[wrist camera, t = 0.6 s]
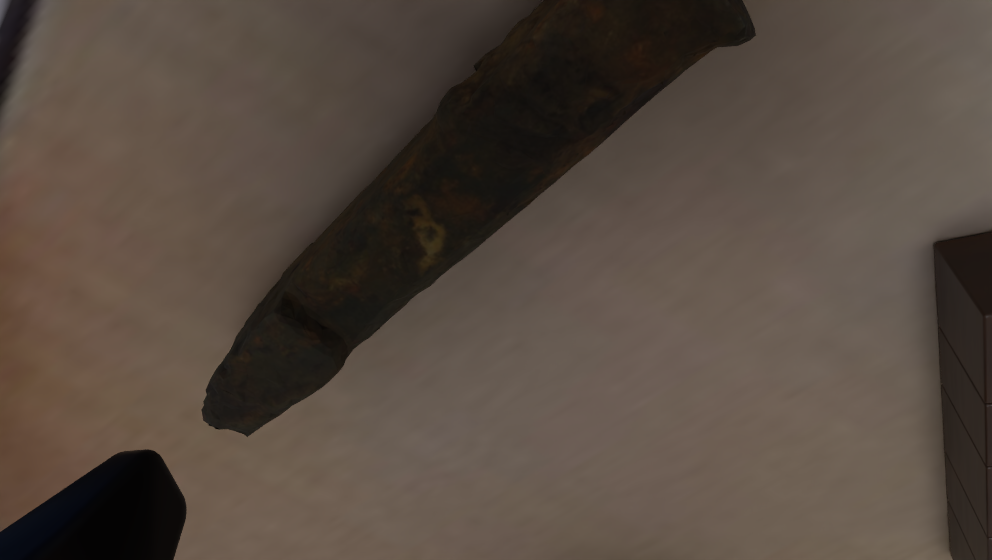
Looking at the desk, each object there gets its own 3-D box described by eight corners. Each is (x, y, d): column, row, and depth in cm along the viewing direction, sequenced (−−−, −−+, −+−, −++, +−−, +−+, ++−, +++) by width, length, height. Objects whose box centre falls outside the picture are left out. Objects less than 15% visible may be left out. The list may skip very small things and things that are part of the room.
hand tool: (646, -141, 17) (653, -118, 14) (752, -1, 19) (785, 56, 15) (183, 302, 26) (106, 393, 22) (277, 378, 27) (219, 477, 23)
